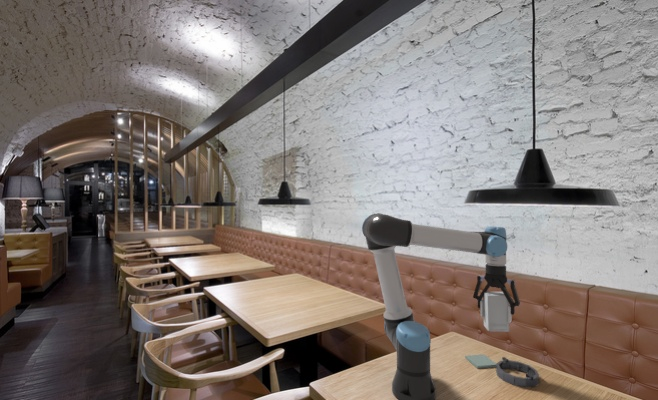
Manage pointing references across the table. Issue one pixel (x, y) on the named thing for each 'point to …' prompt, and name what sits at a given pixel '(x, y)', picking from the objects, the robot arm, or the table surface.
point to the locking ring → (530, 381)
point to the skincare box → (495, 311)
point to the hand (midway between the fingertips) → (495, 319)
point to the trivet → (480, 361)
